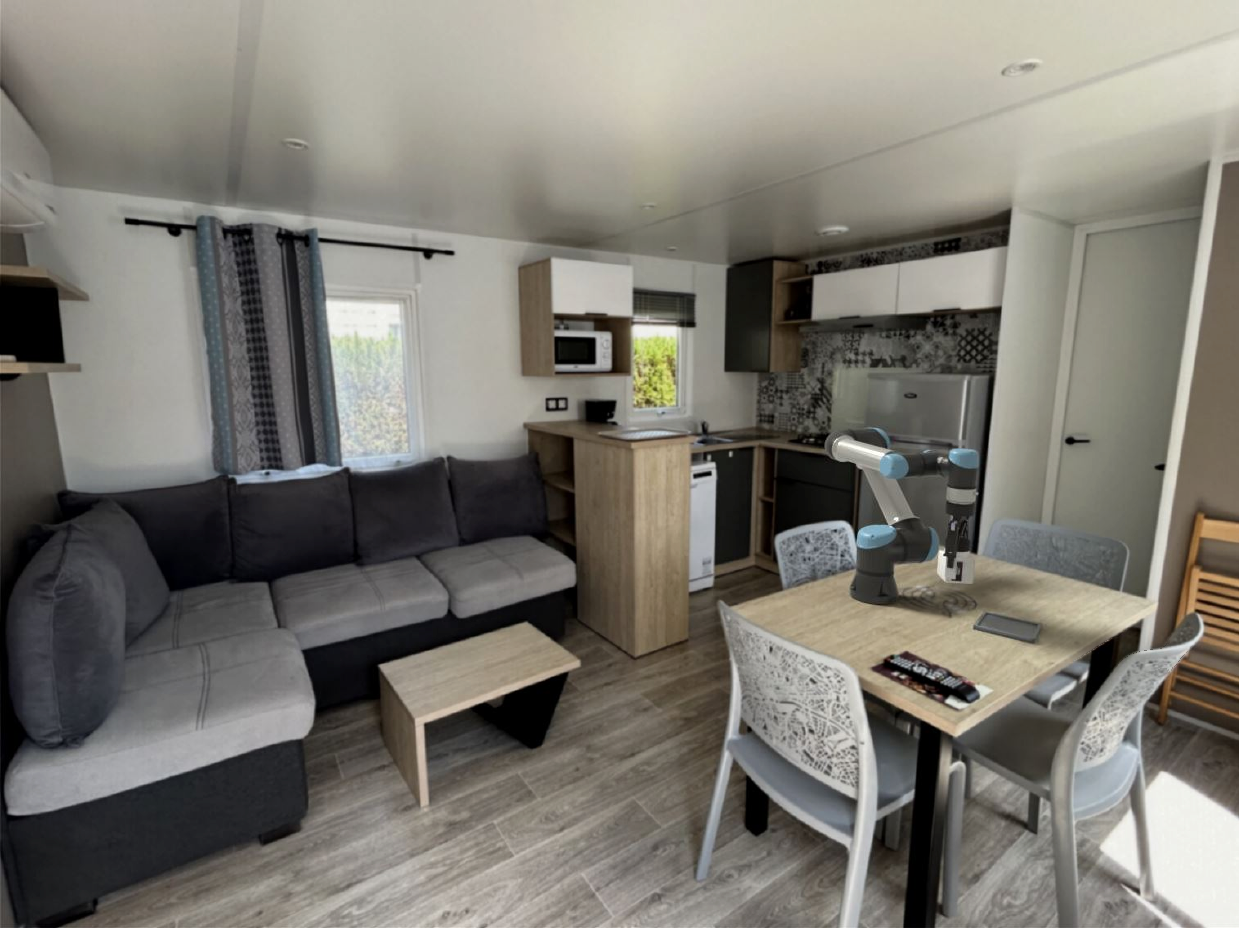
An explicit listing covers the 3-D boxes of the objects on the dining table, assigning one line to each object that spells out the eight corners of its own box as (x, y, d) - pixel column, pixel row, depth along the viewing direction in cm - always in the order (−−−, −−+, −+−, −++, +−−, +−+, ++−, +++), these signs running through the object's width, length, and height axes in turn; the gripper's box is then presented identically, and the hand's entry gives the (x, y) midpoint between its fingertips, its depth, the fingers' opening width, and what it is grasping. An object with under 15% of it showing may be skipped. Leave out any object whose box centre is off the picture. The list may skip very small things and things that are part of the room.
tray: (973, 629, 169) (973, 625, 169) (983, 614, 178) (984, 610, 178) (1033, 644, 159) (1034, 639, 159) (1041, 627, 169) (1042, 623, 169)
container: (973, 584, 172) (977, 541, 170) (944, 582, 174) (948, 540, 172) (963, 575, 180) (967, 534, 178) (936, 573, 181) (939, 533, 179)
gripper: (965, 510, 162) (959, 586, 166) (984, 496, 179) (978, 565, 182) (935, 506, 167) (930, 580, 171) (956, 493, 184) (951, 560, 187)
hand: (955, 572), depth 177 cm, fingers closed on container, 10 cm apart
